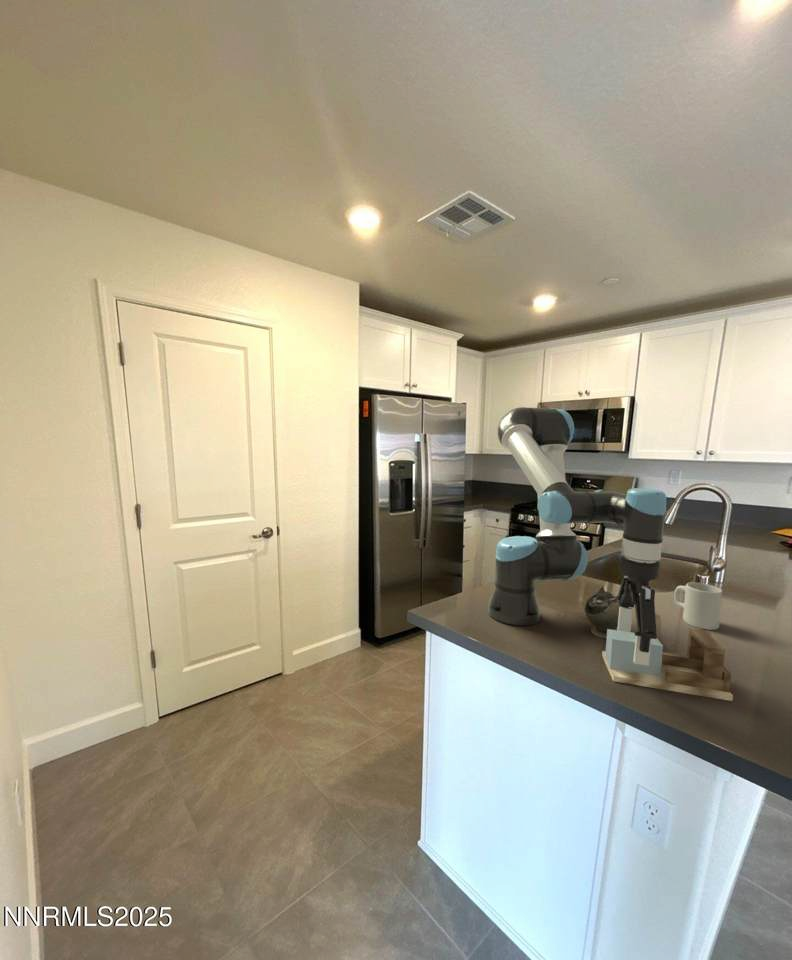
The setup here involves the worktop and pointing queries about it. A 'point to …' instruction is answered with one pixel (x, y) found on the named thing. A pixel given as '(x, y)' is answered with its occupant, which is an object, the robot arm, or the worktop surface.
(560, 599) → the worktop surface
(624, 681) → the rail board
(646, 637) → the robot arm
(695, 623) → the mug
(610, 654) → the pale blue tall block
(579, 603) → the worktop surface
